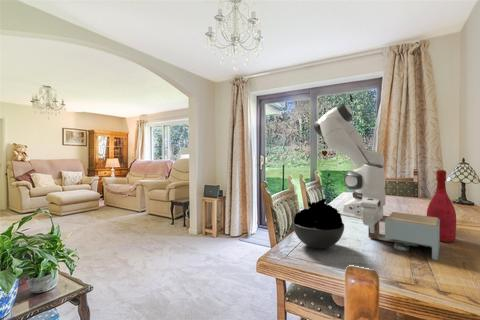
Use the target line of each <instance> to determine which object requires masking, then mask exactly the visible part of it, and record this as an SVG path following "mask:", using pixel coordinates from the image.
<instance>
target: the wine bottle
mask: <svg viewBox="0 0 480 320" xmlns="http://www.w3.org/2000/svg"><path fill="white" fill-rule="evenodd" d="M435 172H436V176H435V177H436V179H435V180H436V181H437V182H436V183H437V184H436V190H435V193H434V195H433V197H432V198H431V200H430V202H429V204H428V206H427V209H426V216H429V217H437V218H438V219H440V231H439V242H443V243H453V242H455V241H456V237H457V212H456V210H455V207H454V204H453V203H452V201H451V199H450V197H449V195H448V192H447V185H446V181H447V171H446V170H445V169H437V170H436V171H435Z"/></svg>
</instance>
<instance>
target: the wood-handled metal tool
mask: <svg viewBox="0 0 480 320" xmlns="http://www.w3.org/2000/svg"><path fill="white" fill-rule="evenodd" d="M368 238H370V239H376V240H381V241H385V242H391V243H404V244H407V245H409V247H410V246H412V247H415V248H418V247H419V246H420V245H419V244H417V243H412V242H406V241H401V240H396V239H391V238H386V237H385V234H383V233H380V220H379V221H378V222H377V223H375V233H370V228H369V227H368Z"/></svg>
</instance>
